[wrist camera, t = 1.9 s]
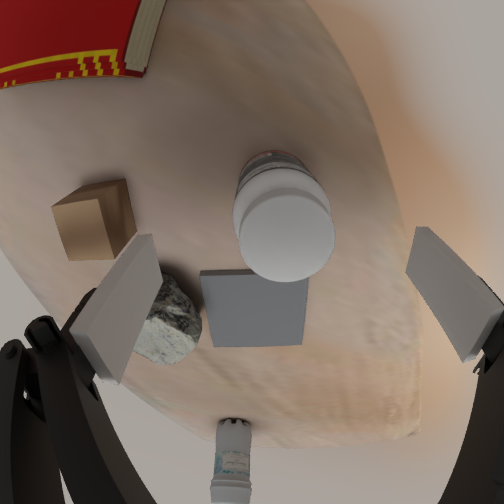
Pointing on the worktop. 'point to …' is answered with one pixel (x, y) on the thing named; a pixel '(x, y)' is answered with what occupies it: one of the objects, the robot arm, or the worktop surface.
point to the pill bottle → (282, 218)
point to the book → (75, 39)
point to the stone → (169, 326)
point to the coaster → (253, 309)
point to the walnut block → (95, 221)
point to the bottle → (232, 464)
